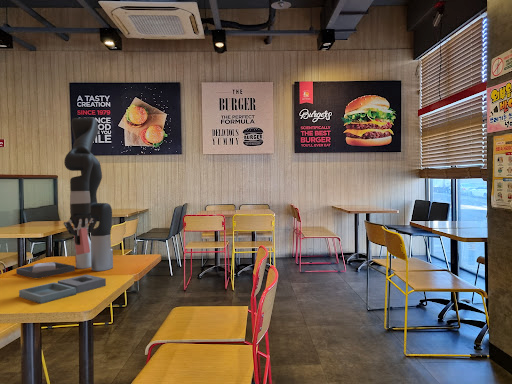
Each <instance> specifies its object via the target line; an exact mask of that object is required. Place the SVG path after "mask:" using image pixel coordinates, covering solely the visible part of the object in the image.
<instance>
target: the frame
mask: <svg viewBox="0 0 512 384" xmlns="http://www.w3.org/2000/svg"><path fill="white" fill-rule="evenodd" d="M53 262H54V263H55V269H54V270H49V271H44V272H38V273H36V272H33V266H34V265H30V266H24V267H19V268H16V269H15V270H16V271H15V272H16V273H15V274H16V275H19V276H22V277H27V278H30V277H31V279H34V278H38V279H43V278H48V277H51V276H52V277H53V276H56V275H62V274H65V273H66V274H67V273H71V272H75V271H76V270H75V268H76V265H71V264H67V263H63V262H62V263H60V262H57V261H53ZM42 277H43V278H42Z"/></svg>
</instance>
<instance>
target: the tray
mask: <svg viewBox="0 0 512 384" xmlns="http://www.w3.org/2000/svg"><path fill="white" fill-rule="evenodd" d="M18 293H19V294H18V296H19V298H22V299H24V300H28V301H31V302H33V303H37V304H40V305H42V304H45V303H48V302H52V301H56V300H61V299H65V298H69V297H72V296H76V295H77V293H76V288H75V287H71V286H67V285H63V284H59V283H58V282H54V281H53V282H50V283H45V284H41V285H36V286H32V287H28V288H23V289H19V291H18Z"/></svg>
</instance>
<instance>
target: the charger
mask: <svg viewBox="0 0 512 384" xmlns="http://www.w3.org/2000/svg"><path fill="white" fill-rule="evenodd" d="M54 262H55V261H51V262H42V263H40V262H39V263H35V264H33V265H32V266H33V271H32V272H36V273H38V272H44V271H49V270H54V269H56V268H55V263H54Z"/></svg>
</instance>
